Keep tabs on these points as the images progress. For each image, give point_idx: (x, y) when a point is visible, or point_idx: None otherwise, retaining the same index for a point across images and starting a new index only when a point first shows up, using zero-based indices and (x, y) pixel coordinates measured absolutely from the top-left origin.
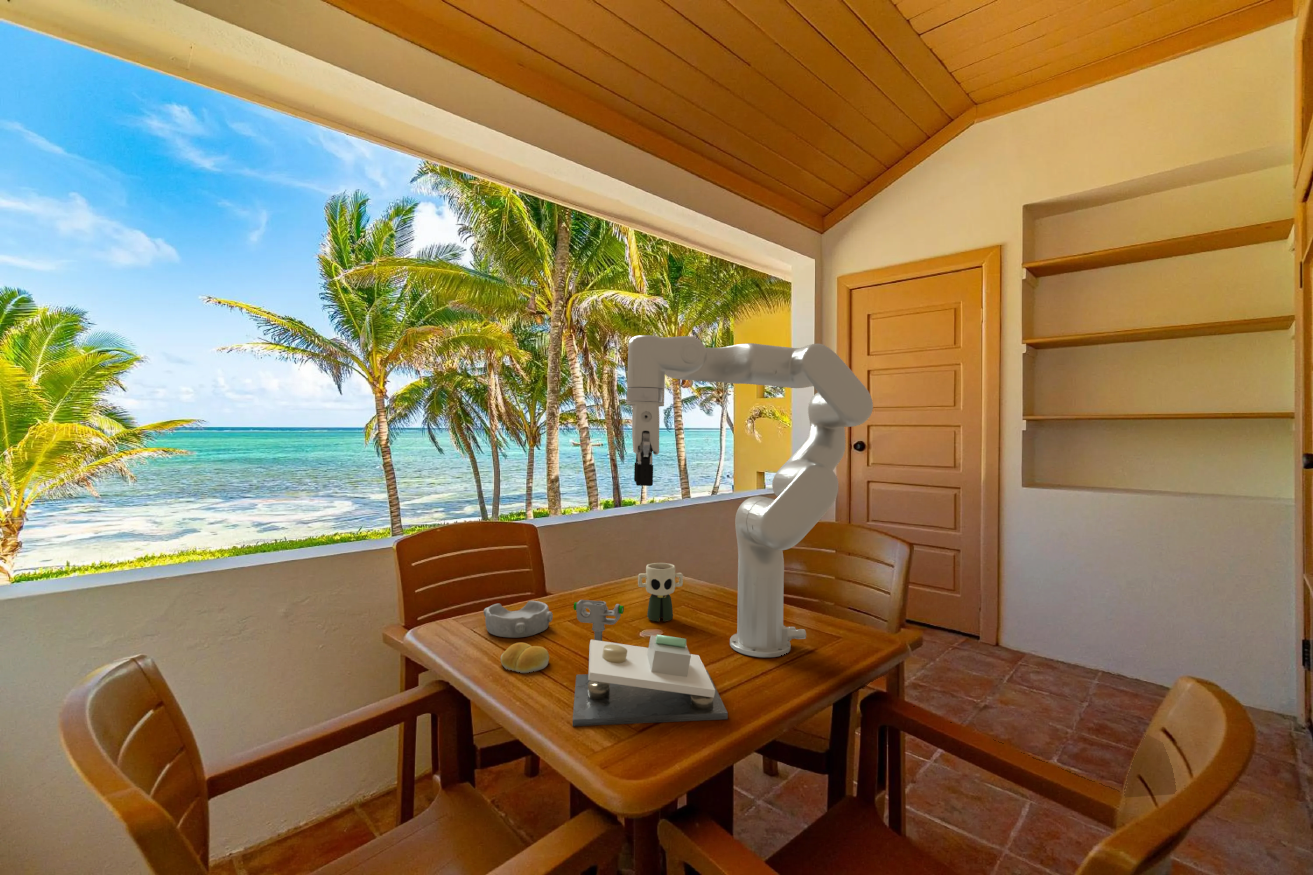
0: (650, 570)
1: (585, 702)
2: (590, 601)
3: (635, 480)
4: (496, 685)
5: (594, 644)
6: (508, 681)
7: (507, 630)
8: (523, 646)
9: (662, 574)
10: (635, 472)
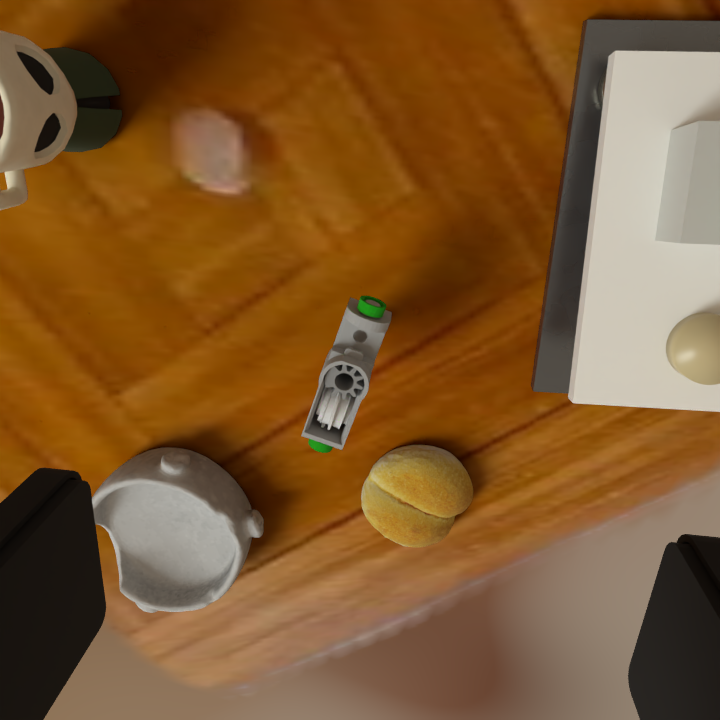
0: (5, 162)
1: None
2: (314, 406)
3: (103, 617)
4: (520, 534)
5: (611, 394)
6: (505, 515)
7: (250, 543)
8: (413, 518)
9: (27, 104)
10: (50, 705)
